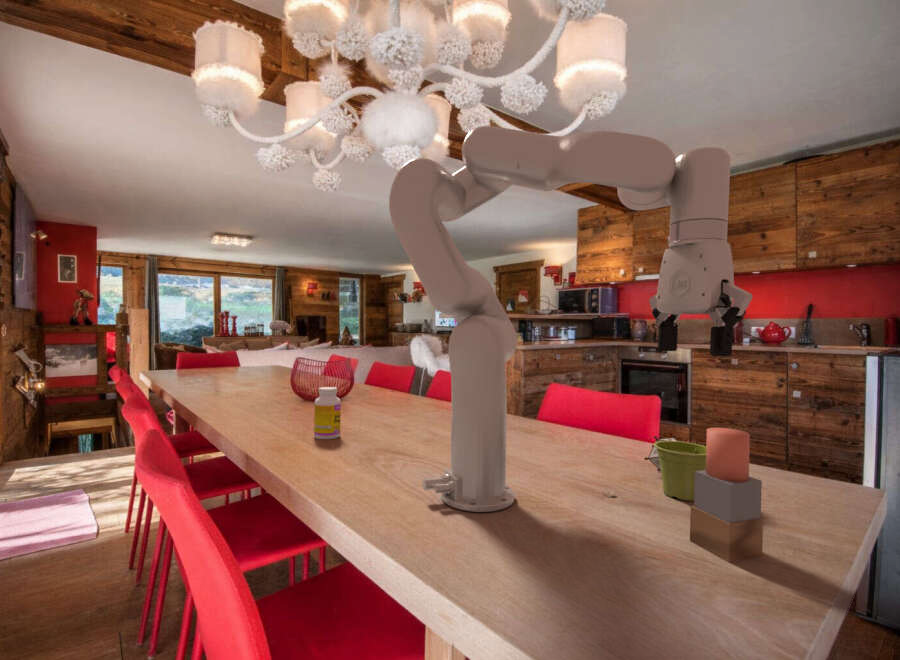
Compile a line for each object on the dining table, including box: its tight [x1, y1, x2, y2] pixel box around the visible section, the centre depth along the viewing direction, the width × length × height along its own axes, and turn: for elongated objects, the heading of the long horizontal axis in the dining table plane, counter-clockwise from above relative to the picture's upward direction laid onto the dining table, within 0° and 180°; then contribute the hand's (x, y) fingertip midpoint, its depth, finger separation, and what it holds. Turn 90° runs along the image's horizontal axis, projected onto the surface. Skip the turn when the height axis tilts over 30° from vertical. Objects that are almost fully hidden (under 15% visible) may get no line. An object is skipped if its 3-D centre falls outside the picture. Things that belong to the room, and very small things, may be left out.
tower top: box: [693, 470, 763, 523], centre depth 61 cm, size 6×6×5 cm
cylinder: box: [705, 427, 751, 482], centre depth 61 cm, size 5×5×6 cm
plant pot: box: [653, 440, 706, 502], centre depth 81 cm, size 9×9×9 cm
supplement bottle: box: [313, 386, 342, 440], centre depth 118 cm, size 7×7×13 cm
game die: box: [643, 434, 683, 472], centre depth 91 cm, size 9×8×10 cm
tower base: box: [689, 505, 764, 563], centre depth 61 cm, size 6×6×5 cm
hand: (692, 353), depth 66 cm, fingers open, 9 cm apart
